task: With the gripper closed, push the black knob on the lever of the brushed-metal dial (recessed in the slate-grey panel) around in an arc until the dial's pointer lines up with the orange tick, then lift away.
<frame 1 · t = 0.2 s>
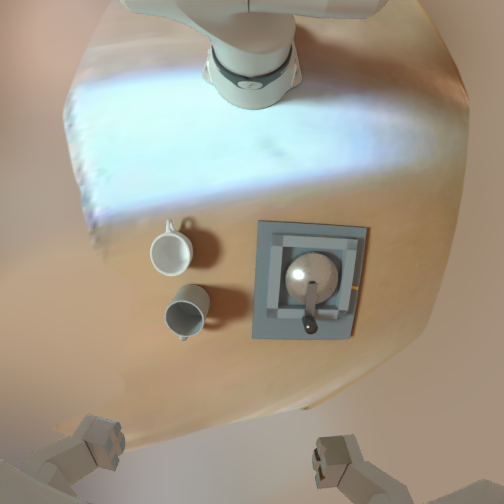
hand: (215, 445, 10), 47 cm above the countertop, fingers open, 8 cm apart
panel: (308, 284, 58), on the countertop
cup: (192, 306, 60), on the countertop
teacup: (176, 242, 57), on the countertop
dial: (312, 292, 54), point 5 cm above the countertop, hinge at 0.0°
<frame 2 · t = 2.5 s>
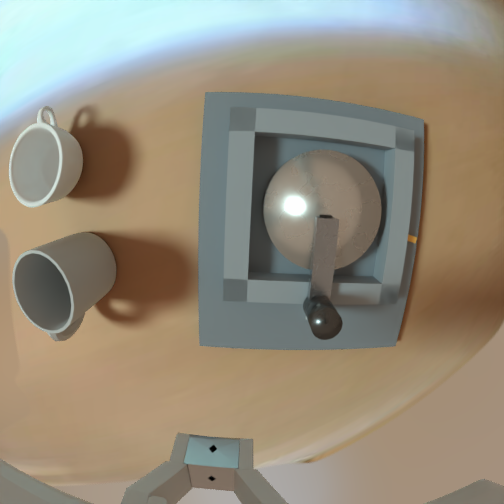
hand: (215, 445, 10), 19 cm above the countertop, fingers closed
panel: (315, 229, 27), on the countertop
cup: (89, 276, 28), on the countertop
teacup: (64, 155, 26), on the countertop
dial: (326, 239, 23), point 4 cm above the countertop, hinge at 0.0°
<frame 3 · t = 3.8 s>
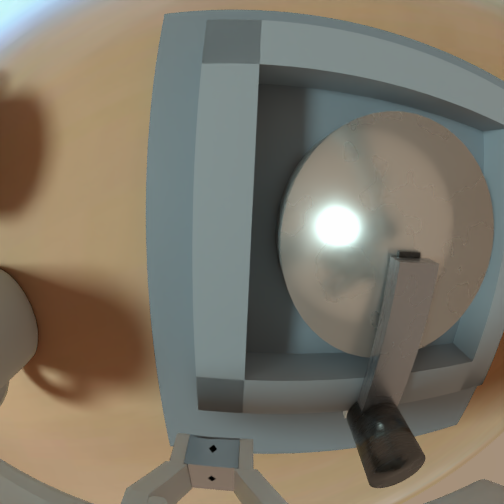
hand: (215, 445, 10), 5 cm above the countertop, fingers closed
panel: (371, 269, 14), on the countertop
cup: (9, 329, 15), on the countertop
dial: (413, 306, 10), point 5 cm above the countertop, hinge at 0.0°
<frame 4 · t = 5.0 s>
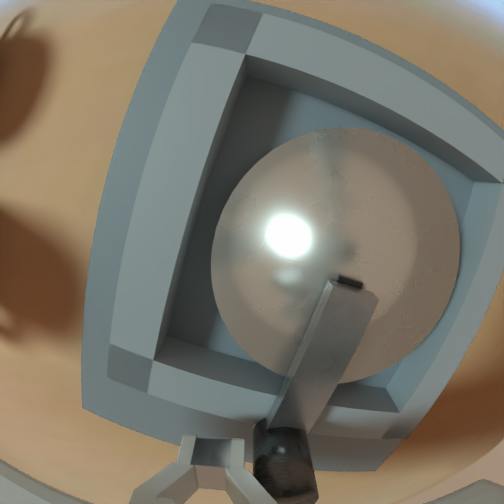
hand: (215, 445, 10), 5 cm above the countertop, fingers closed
panel: (314, 288, 14), on the countertop
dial: (339, 336, 10), point 4 cm above the countertop, hinge at 1.2°, touching gripper
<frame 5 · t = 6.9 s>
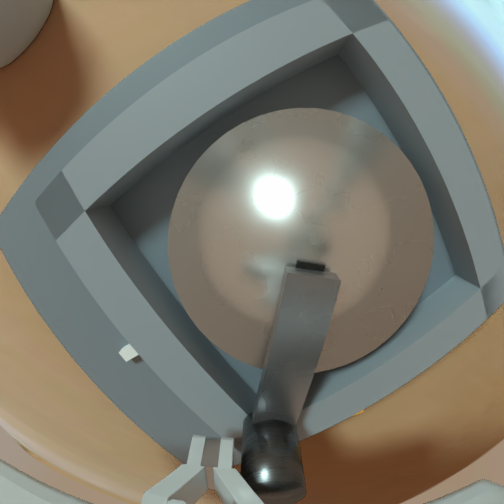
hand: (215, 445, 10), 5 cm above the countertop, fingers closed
panel: (261, 259, 14), on the countertop
cup: (6, 39, 10), on the countertop
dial: (304, 323, 10), point 4 cm above the countertop, hinge at 46.9°, touching gripper
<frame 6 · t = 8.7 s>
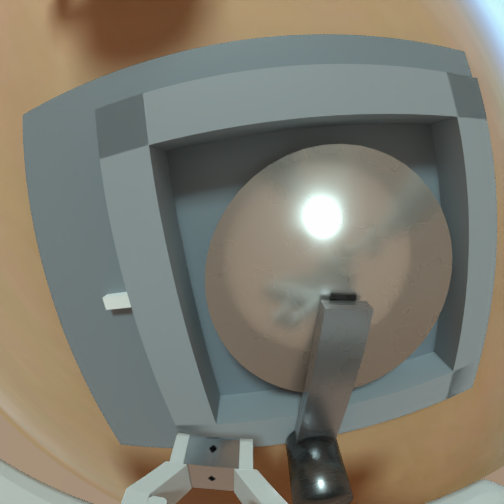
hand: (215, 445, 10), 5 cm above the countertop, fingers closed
panel: (281, 268, 14), on the countertop
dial: (342, 350, 10), point 4 cm above the countertop, hinge at 77.2°
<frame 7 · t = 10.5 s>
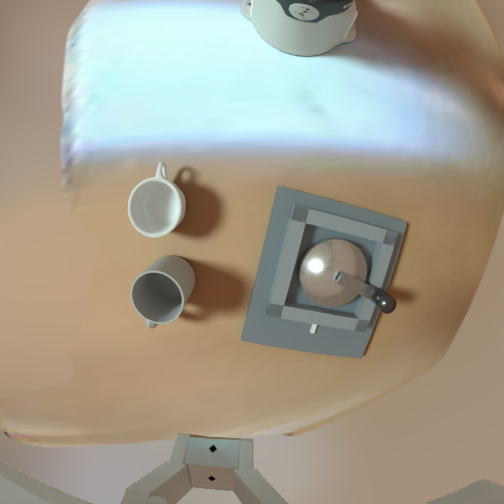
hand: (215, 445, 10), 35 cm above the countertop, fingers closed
panel: (325, 280, 45), on the countertop
cup: (170, 285, 45), on the countertop
teacup: (165, 197, 42), on the countertop
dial: (349, 282, 40), point 5 cm above the countertop, hinge at 77.2°
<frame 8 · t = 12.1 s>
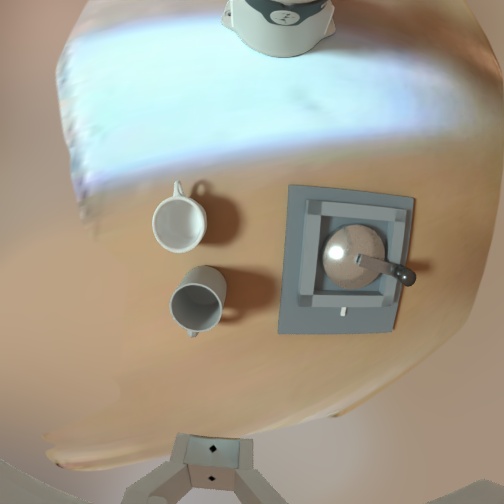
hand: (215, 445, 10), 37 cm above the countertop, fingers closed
panel: (347, 264, 47), on the countertop
cup: (203, 293, 48), on the countertop
teacup: (185, 213, 45), on the countertop
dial: (369, 263, 42), point 4 cm above the countertop, hinge at 77.2°
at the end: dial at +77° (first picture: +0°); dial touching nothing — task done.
